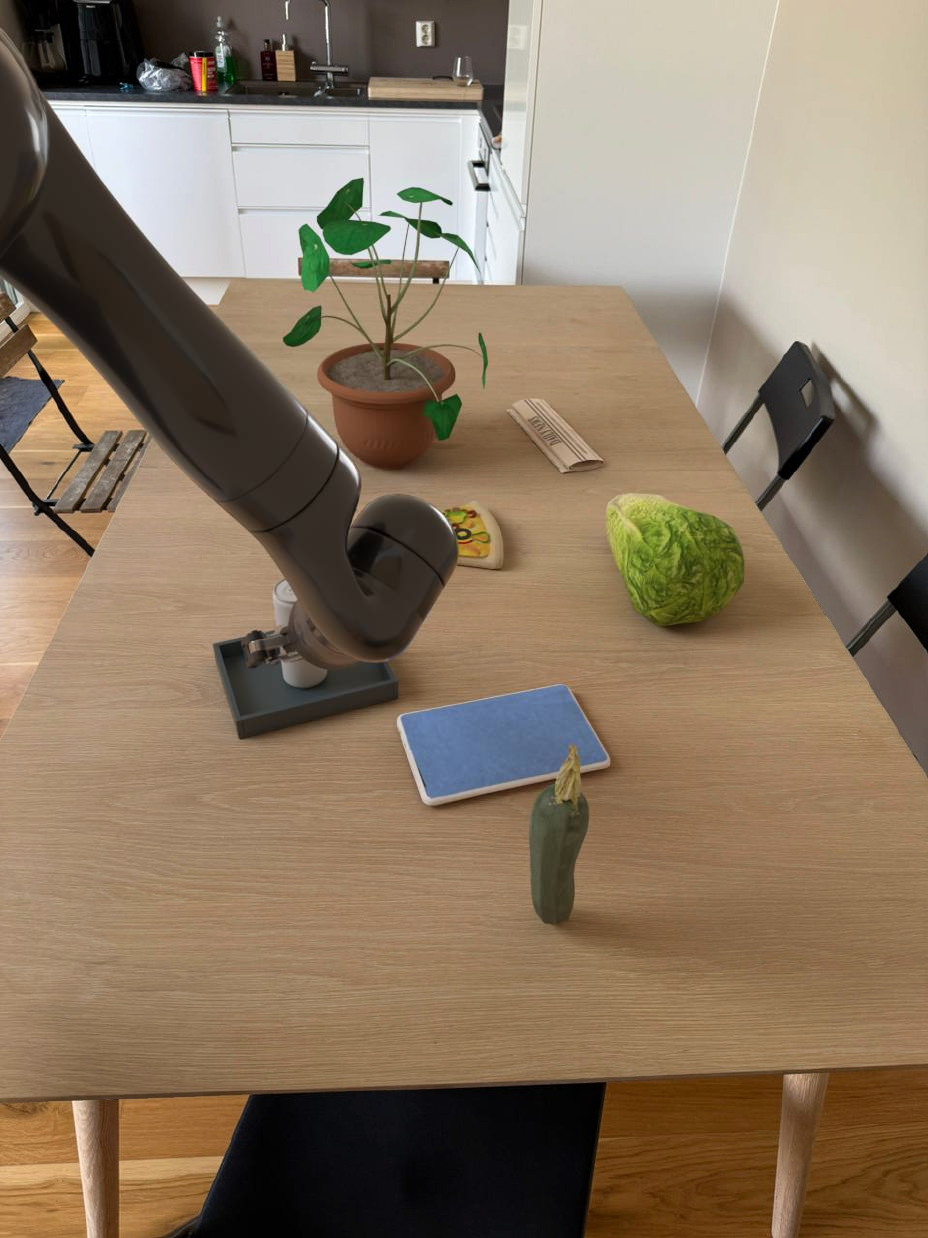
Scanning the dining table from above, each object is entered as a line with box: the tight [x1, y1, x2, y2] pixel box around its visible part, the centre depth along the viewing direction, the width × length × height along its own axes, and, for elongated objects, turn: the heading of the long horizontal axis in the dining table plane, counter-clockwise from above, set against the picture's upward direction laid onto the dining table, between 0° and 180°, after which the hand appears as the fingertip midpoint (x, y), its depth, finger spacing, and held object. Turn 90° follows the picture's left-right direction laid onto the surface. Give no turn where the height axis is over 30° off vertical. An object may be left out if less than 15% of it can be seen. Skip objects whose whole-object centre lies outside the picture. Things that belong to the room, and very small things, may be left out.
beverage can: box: [272, 577, 327, 689], centre depth 94 cm, size 5×5×12 cm
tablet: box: [396, 683, 611, 807], centre depth 90 cm, size 19×13×1 cm, turn 107°
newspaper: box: [506, 398, 605, 474], centre depth 146 cm, size 24×7×2 cm, turn 19°
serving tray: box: [212, 629, 400, 740], centre depth 97 cm, size 17×13×2 cm
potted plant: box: [282, 177, 489, 470], centre depth 131 cm, size 31×29×40 cm
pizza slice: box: [441, 500, 504, 570], centre depth 119 cm, size 16×21×3 cm
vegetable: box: [528, 744, 590, 926], centre depth 69 cm, size 4×4×20 cm
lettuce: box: [604, 492, 745, 628], centre depth 112 cm, size 14×24×14 cm
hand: (314, 644), depth 86 cm, fingers open, 8 cm apart
